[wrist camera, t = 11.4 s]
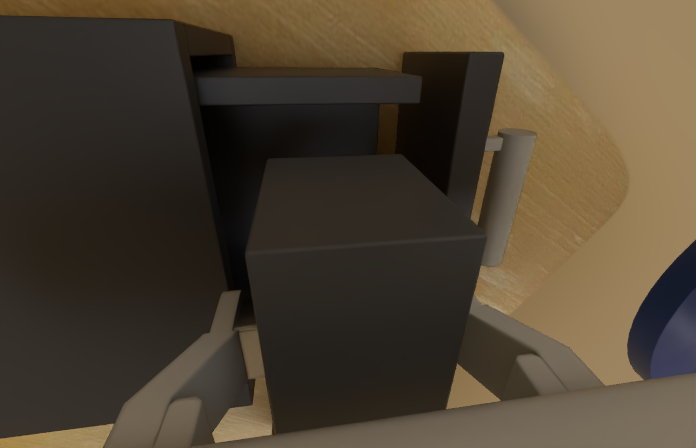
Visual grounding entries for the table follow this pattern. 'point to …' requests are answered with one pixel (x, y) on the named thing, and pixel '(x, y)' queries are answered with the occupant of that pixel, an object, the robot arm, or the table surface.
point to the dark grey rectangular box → (358, 289)
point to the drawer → (363, 133)
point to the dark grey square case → (102, 214)
